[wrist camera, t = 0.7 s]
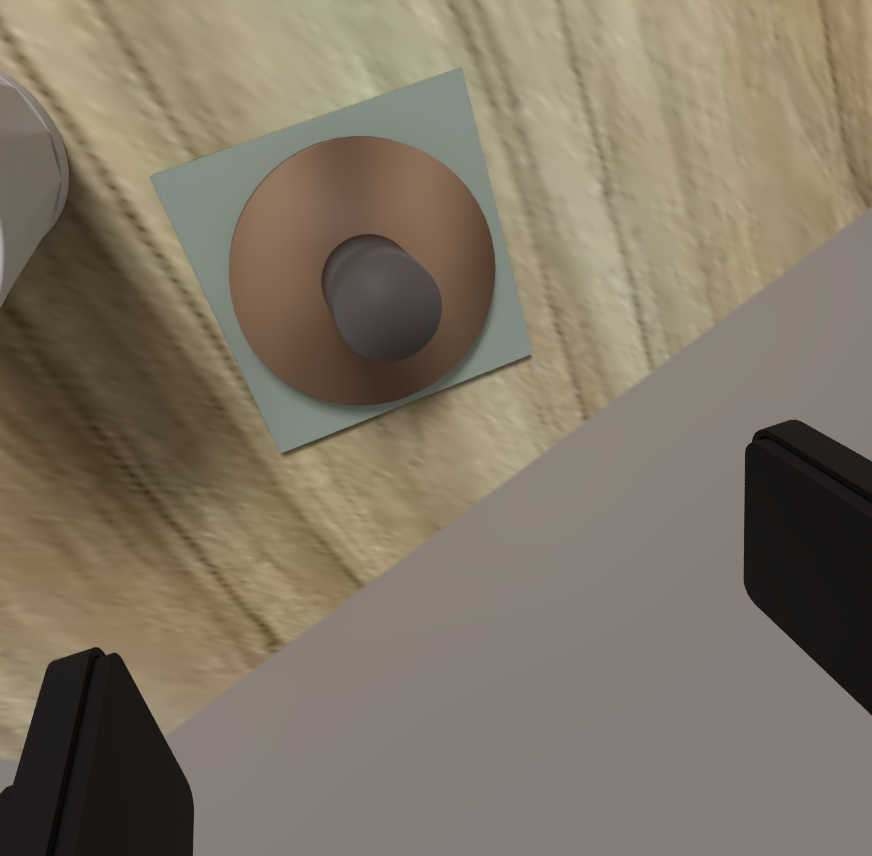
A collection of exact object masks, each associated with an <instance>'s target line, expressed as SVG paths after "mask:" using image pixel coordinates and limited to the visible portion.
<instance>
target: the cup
mask: <svg viewBox="0 0 872 856" xmlns="http://www.w3.org/2000/svg"><path fill="white" fill-rule="evenodd" d="M68 189H69V166H68V159H67V155H66V151H65V148H64V144H63V142H62V139H61V137H60V134H59V132H58V130H57V128H56V126H55V124H54V123H53V121H52V119H51V118H50V116H49V115H48V113H47V112H46V110H45V109H44V108H43V106H42V105H41V104H40V103H39V102H38V100H37V99H36V98H35V97H34V96H33V95H32V94H31V93H30V92H29V91H28V90H27V89H26V88H25V87H24V86H22V85H21V84H20V83H19V82H17V81H16V80H15V79H14V78H12V77H11V76H9V75H8V74H6V73H5V72H3V71H2V70H0V307H1V306H2V304H3V302H4V300H5V299H6V297H7V295H8V293H9V291H10V290H11V288H12V286H13V284H14V283H15V281H16V279H17V278H18V276H19V275H20V273H21V271H22V270H23V268H24V267H25V265H26V263H27V262H28V260H29V259H30V257H31V256H32V254H33V252H34V251H35V249H36V248H37V246H38V244H39V243H40V241H41V240H42V238H43V237H44V236H45V235H46V234H47V233H48V232H49V231H50V230H51V229H52V227H53V226H54V225H55V223H56V222H57V220H58V219H59V217H60V215H61V213H62V211H63V208H64V206H65V203H66V199H67V195H68Z"/></svg>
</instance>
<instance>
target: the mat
mask: <svg viewBox="0 0 872 856" xmlns="http://www.w3.org/2000/svg"><path fill="white" fill-rule="evenodd" d="M349 136H372V137H379V138H385V139H390V140H393V141H397V142H400V143H403V144H406V145H410V146H413V147H415V148H417V149H419V150H421V151H423V152H425V153H427V154H429V155H431V156H432V157H434V158H435V159H437V160H439V161H440V162H442V163H443V164H444V165H446V166H447V167H448V168H449V169H450V170H451V171H452V172H454V173H455V174H456V175H457V176H458V177H459V178H460V179H461V181H462V182H463V183H464V184H465V185H466V186H467V187H468V189H469V190H470V191H471V193H472V195H473V196H474V198H475V199H476V201H477V202H478V204H479V206H480V208H481V210H482V212H483V214H484V216H485V218H486V221H487V224H488V227H489V230H490V233H491V236H492V241H493V247H494V252H495V267H496V272H495V286H494V292H493V297H492V302H491V305H490V309H489V312H488V315H487V318H486V320H485V322H484V325H483V327H482V329H481V331H480V333H479V335H478V337H477V338H476V340H475V341H474V343H473V345H472V346H471V348H470V349H469V350H468V352H467V353H466V354H465V355H464V357H463V358H462V359H461V360H460V361H459V362H458V363H457V364H456V365H455V366H454V367H453V368H452V369H451V370H450V371H449V372H448V373H447V374H446V375H444V376H443V377H442V378H441V379H439V380H438V381H437V382H435V383H433V384H432V385H430V386H428V387H427V388H425V389H424V390H422V391H419V392H417V393H415V394H413V395H411V396H408V397H405V398H402V399H399V400H396V401H393V402H388V403H383V404H378V405H365V406H356V405H343V404H337V403H331V402H327V401H324V400H320V399H317V398H314V397H312V396H309V395H307V394H305V393H303V392H300V391H298V390H297V389H295V388H293V387H292V386H290V385H288V384H287V383H285V382H284V381H282V380H281V379H280V378H279V377H278V376H276V375H275V374H274V373H273V372H271V371H270V370H269V369H268V368H267V366H266V365H265V364H264V363H263V362H262V361H261V360H260V359H259V358H258V356H257V355H256V354H255V352H254V351H253V350H252V348H251V347H250V345H249V344H248V342H247V340H246V338H245V336H244V334H243V333H242V331H241V329H240V326H239V323H238V321H237V318H236V315H235V313H234V308H233V304H232V300H231V295H230V284H229V254H230V248H231V243H232V237H233V233H234V230H235V227H236V224H237V221H238V218H239V216H240V214H241V212H242V210H243V208H244V206H245V204H246V202H247V200H248V199H249V197H250V196H251V194H252V193H253V191H254V190H255V189H256V187H257V186H258V185H259V184H260V182H261V181H262V180H263V179H264V178H265V177H266V176H267V175H268V174H269V172H271V171H272V170H273V169H274V168H275V167H277V166H278V165H279V164H280V163H281V162H283V161H284V160H285V159H287V158H289V157H290V156H292V155H294V154H295V153H297V152H298V151H300V150H302V149H305V148H307V147H309V146H312V145H314V144H316V143H319V142H323V141H327V140H330V139H334V138H341V137H349ZM150 179H151V181H152V183H153V185H154V187H155V189H156V191H157V194H158V196H159V198H160V200H161V202H162V204H163V206H164V208H165V211H166V213H167V215H168V217H169V219H170V221H171V223H172V225H173V227H174V230H175V232H176V234H177V236H178V238H179V240H180V242H181V244H182V247H183V249H184V251H185V253H186V255H187V257H188V259H189V261H190V264H191V266H192V268H193V270H194V272H195V274H196V276H197V278H198V281H199V283H200V285H201V287H202V289H203V291H204V293H205V295H206V298H207V300H208V302H209V304H210V306H211V308H212V310H213V312H214V314H215V317H216V319H217V321H218V323H219V325H220V327H221V329H222V331H223V334H224V336H225V338H226V340H227V342H228V344H229V346H230V348H231V351H232V353H233V355H234V357H235V359H236V361H237V363H238V365H239V368H240V370H241V372H242V374H243V376H244V378H245V380H246V382H247V385H248V387H249V389H250V391H251V393H252V395H253V397H254V399H255V402H256V404H257V406H258V408H259V410H260V412H261V414H262V416H263V418H264V421H265V423H266V425H267V427H268V429H269V431H270V433H271V435H272V438H273V440H274V442H275V444H276V446H277V448H278V450H279V452H280V454H281V453H283V452H286V451H288V450H291V449H293V448H296V447H299V446H301V445H304V444H306V443H309V442H311V441H314V440H316V439H319V438H321V437H324V436H326V435H329V434H331V433H334V432H336V431H339V430H341V429H344V428H346V427H349V426H352V425H354V424H357V423H359V422H362V421H364V420H367V419H369V418H372V417H374V416H377V415H379V414H382V413H384V412H387V411H389V410H392V409H394V408H397V407H399V406H402V405H405V404H407V403H410V402H412V401H415V400H417V399H420V398H422V397H425V396H427V395H430V394H432V393H435V392H437V391H440V390H442V389H445V388H447V387H450V386H452V385H455V384H458V383H460V382H463V381H465V380H468V379H470V378H473V377H475V376H478V375H480V374H483V373H485V372H488V371H490V370H493V369H495V368H498V367H500V366H503V365H505V364H508V363H511V362H513V361H516V360H518V359H521V358H523V357H526V356H528V355H531V354H533V353H532V349H531V345H530V341H529V337H528V333H527V329H526V325H525V321H524V317H523V313H522V309H521V305H520V301H519V297H518V293H517V289H516V285H515V281H514V277H513V273H512V269H511V265H510V261H509V257H508V252H507V248H506V244H505V240H504V236H503V232H502V228H501V224H500V220H499V216H498V212H497V208H496V204H495V200H494V196H493V192H492V188H491V184H490V180H489V176H488V172H487V168H486V164H485V160H484V156H483V152H482V148H481V144H480V140H479V136H478V132H477V128H476V124H475V120H474V116H473V112H472V108H471V104H470V100H469V96H468V92H467V88H466V84H465V80H464V76H463V72H462V68H458V69H455V70H452V71H449V72H446V73H443V74H440V75H438V76H435V77H432V78H429V79H426V80H423V81H420V82H417V83H415V84H412V85H409V86H406V87H403V88H400V89H397V90H395V91H392V92H389V93H386V94H383V95H380V96H377V97H374V98H372V99H369V100H366V101H363V102H360V103H357V104H354V105H351V106H349V107H346V108H343V109H340V110H337V111H334V112H331V113H329V114H326V115H323V116H320V117H317V118H314V119H311V120H308V121H306V122H303V123H300V124H297V125H294V126H291V127H288V128H285V129H283V130H280V131H277V132H274V133H271V134H268V135H265V136H263V137H260V138H257V139H254V140H251V141H248V142H245V143H242V144H240V145H237V146H234V147H231V148H228V149H225V150H222V151H219V152H217V153H214V154H211V155H208V156H205V157H202V158H199V159H197V160H194V161H191V162H188V163H185V164H182V165H179V166H176V167H174V168H171V169H168V170H165V171H162V172H159V173H156V174H153V175H151V176H150Z"/></svg>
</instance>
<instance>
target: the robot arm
mask: <svg viewBox="0 0 872 856" xmlns="http://www.w3.org/2000/svg"><path fill="white" fill-rule="evenodd" d="M744 585H745V588H746V591H747V593H748V595H749V596H750V598H751V600H752V601H753V602H754V604H755V605H756V606H757V607H758V608H760V609H761V610H762V611H763V612H764V613H765V614H766V615H767V616H768V617H769V618H770V619H771V620H772V621H773V622H774V623H775V624H776V625H777V626H778V627H779V628H780V629H782V630H783V631H784V632H785V633H786V634H787V635H788V636H789V637H790V638H791V639H792V640H793V641H794V642H795V643H796V644H797V645H798V646H799V647H800V648H802V649H803V650H804V651H805V652H806V653H807V654H808V655H809V656H810V657H811V658H812V659H813V660H814V661H815V662H816V663H817V664H818V665H820V666H821V667H822V668H823V669H824V670H825V671H826V672H827V673H828V674H829V675H830V676H831V677H832V678H833V679H834V680H835V681H836V682H837V683H838V684H839V685H841V687H843V688H844V689H845V690H846V691H847V692H848V693H849V694H850V695H851V696H852V697H853V698H854V699H855V700H856V701H857V702H858V703H859V704H861V706H862V707H864V708H865V709H866V710H867V711H868V712H869V713H870V714H871V715H872V461H870V460H868V459H867V458H865V457H863V456H861V455H860V454H858V453H856V452H854V451H853V450H851V449H849V448H847V447H845V446H844V445H842V444H840V443H838V442H837V441H835V440H833V439H831V438H830V437H827V436H826V435H824V434H822V433H821V432H819V431H817V430H815V429H813V428H812V427H810V426H808V425H807V424H805V423H803V422H801V421H798V420H789V421H786V422H783V423H780V424H776V425H773V426H770V427H767V428H764V429H761V430H759V431H757V432H756V433H755V435H754V436H753V439H752V443H750V444H749V445H748V446H747V448H746V452H745V513H744ZM193 827H194V804H193V797H192V793H191V789H190V786H189V784H188V782H187V779H186V777H185V775H184V774H183V772H182V770H181V768H180V766H179V764H178V763H177V761H176V759H175V757H174V755H173V753H172V751H171V749H170V748H169V746H168V744H167V742H166V740H165V738H164V736H163V734H162V733H161V731H160V729H159V727H158V725H157V723H156V721H155V719H154V718H153V716H152V714H151V712H150V710H149V708H148V706H147V705H146V703H145V701H144V699H143V697H142V695H141V693H140V691H139V690H138V688H137V686H136V684H135V682H134V680H133V678H132V677H131V675H130V673H129V671H128V669H127V667H126V665H125V663H124V662H123V660H122V658H121V657H120V655H118V654H117V653H112V654H109V655H105V653H104V652H103V651H102V650H101V649H100V648H97V647H94V648H91V649H88V650H85V651H82V652H79V653H76V654H73V655H70V656H67V657H64V658H61V659H58V660H54V661H52V662H51V663H50V664H49V665H48V667H47V669H46V672H45V676H44V679H43V683H42V686H41V690H40V693H39V697H38V700H37V703H36V707H35V710H34V714H33V717H32V721H31V724H30V728H29V731H28V734H27V738H26V741H25V745H24V748H23V752H22V755H21V759H20V762H19V766H18V769H17V773H16V776H15V780H14V783H13V785H11V786H9V787H6V788H5V789H4V791H2V793H1V794H0V856H193Z"/></svg>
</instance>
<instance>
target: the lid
mask: <svg viewBox="0 0 872 856" xmlns="http://www.w3.org/2000/svg"><path fill="white" fill-rule="evenodd" d="M495 272H496V267H495V252H494V247H493V241H492V236H491V233H490V230H489V227H488V224H487V221H486V218H485V216H484V214H483V212H482V210H481V208H480V206H479V204H478V202H477V201H476V199H475V198H474V196H473V195H472V193H471V191H470V190H469V189H468V187H467V186H466V185H465V184H464V183H463V182H462V181H461V179H460V178H459V177H458V176H457V175H456V174H455V173H454V172H452V171H451V170H450V169H449V168H448V167H447V166H446V165H444V164H443V163H442V162H440V161H439V160H437V159H435V158H434V157H432V156H431V155H429V154H427V153H425V152H423V151H421V150H419V149H417V148H415V147H413V146H410V145H406V144H403V143H400V142H397V141H393V140H390V139H385V138H379V137H372V136H349V137H341V138H334V139H330V140H327V141H323V142H319V143H316V144H314V145H312V146H309V147H307V148H305V149H302V150H300V151H298V152H297V153H295V154H294V155H292V156H290V157H289V158H287V159H285V160H284V161H283V162H281V163H280V164H279V165H278V166H277V167H275V168H274V169H273V170H272V171H271V172H269V174H268V175H267V176H266V177H265V178H264V179H263V180H262V181H261V182H260V184H259V185H258V186H257V187H256V189H255V190H254V191H253V193H252V194H251V196H250V197H249V199H248V200H247V202H246V204H245V206H244V208H243V210H242V212H241V214H240V216H239V218H238V221H237V224H236V227H235V230H234V233H233V237H232V243H231V248H230V254H229V284H230V295H231V300H232V304H233V308H234V313H235V315H236V318H237V321H238V323H239V326H240V329H241V331H242V333H243V334H244V336H245V338H246V340H247V342H248V344H249V345H250V347H251V348H252V350H253V351H254V352H255V354H256V355H257V356H258V358H259V359H260V360H261V361H262V362H263V363H264V364H265V365H266V366H267V368H268V369H269V370H270V371H271V372H273V373H274V374H275V375H276V376H278V377H279V378H280V379H281V380H282V381H284V382H285V383H287V384H288V385H290V386H292V387H293V388H295V389H297V390H298V391H300V392H303V393H305V394H307V395H309V396H312V397H314V398H317V399H320V400H324V401H327V402H331V403H337V404H343V405H356V406H365V405H378V404H383V403H388V402H393V401H396V400H399V399H402V398H405V397H408V396H411V395H413V394H415V393H417V392H419V391H422V390H424V389H425V388H427V387H428V386H430V385H432V384H433V383H435V382H437V381H438V380H439V379H441V378H442V377H443V376H444V375H446V374H447V373H448V372H449V371H450V370H451V369H452V368H453V367H454V366H455V365H456V364H457V363H458V362H459V361H460V360H461V359H462V358H463V357H464V355H465V354H466V353H467V352H468V350H469V349H470V348H471V346H472V345H473V343H474V341H475V340H476V338H477V337H478V335H479V333H480V331H481V329H482V327H483V325H484V322H485V320H486V318H487V315H488V312H489V309H490V305H491V302H492V297H493V292H494V286H495Z"/></svg>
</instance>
